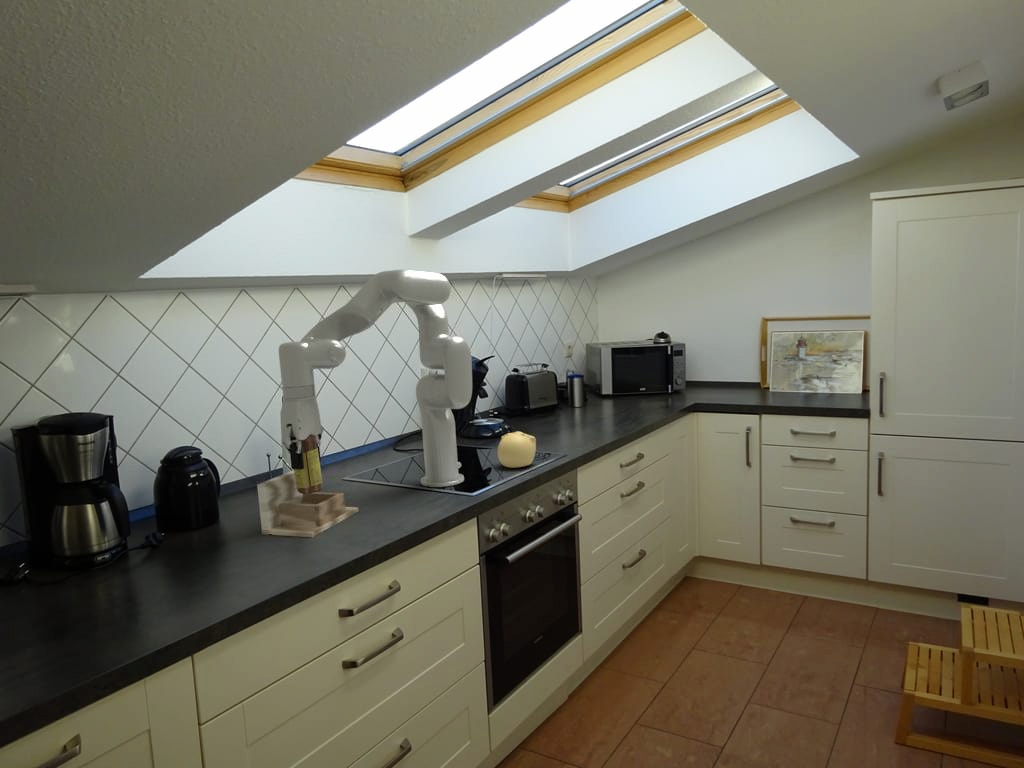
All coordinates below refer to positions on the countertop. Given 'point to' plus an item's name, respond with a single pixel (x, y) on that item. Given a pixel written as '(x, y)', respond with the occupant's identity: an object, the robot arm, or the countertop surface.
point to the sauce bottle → (309, 468)
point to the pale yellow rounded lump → (516, 449)
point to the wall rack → (298, 508)
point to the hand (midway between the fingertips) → (306, 464)
